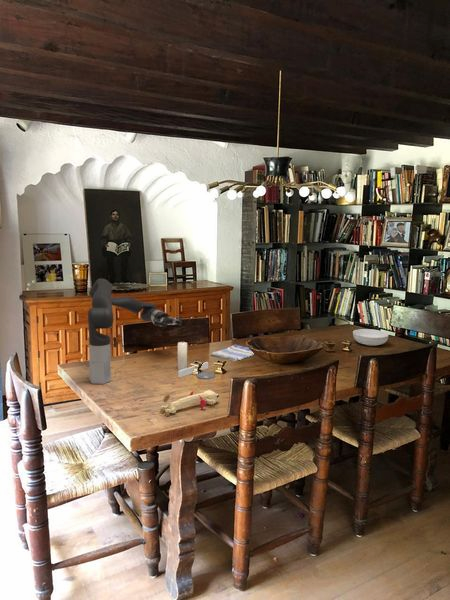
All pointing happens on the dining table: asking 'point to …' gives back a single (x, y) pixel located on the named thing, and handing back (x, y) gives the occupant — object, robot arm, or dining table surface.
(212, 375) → the coaster
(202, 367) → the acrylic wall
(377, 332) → the serving bowl
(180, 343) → the candle
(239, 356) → the dish towel
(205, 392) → the rope dog toy
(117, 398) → the dining table surface
